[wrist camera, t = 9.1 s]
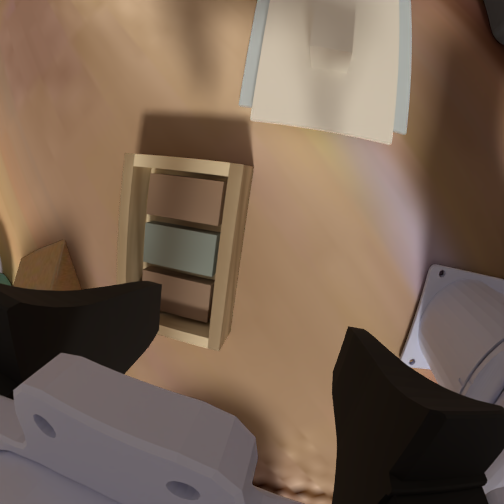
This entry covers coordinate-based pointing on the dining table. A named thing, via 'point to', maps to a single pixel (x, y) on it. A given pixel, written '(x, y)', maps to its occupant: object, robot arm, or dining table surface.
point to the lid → (330, 67)
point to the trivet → (403, 65)
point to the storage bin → (496, 18)
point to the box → (184, 240)
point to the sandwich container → (48, 269)
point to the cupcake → (4, 279)
